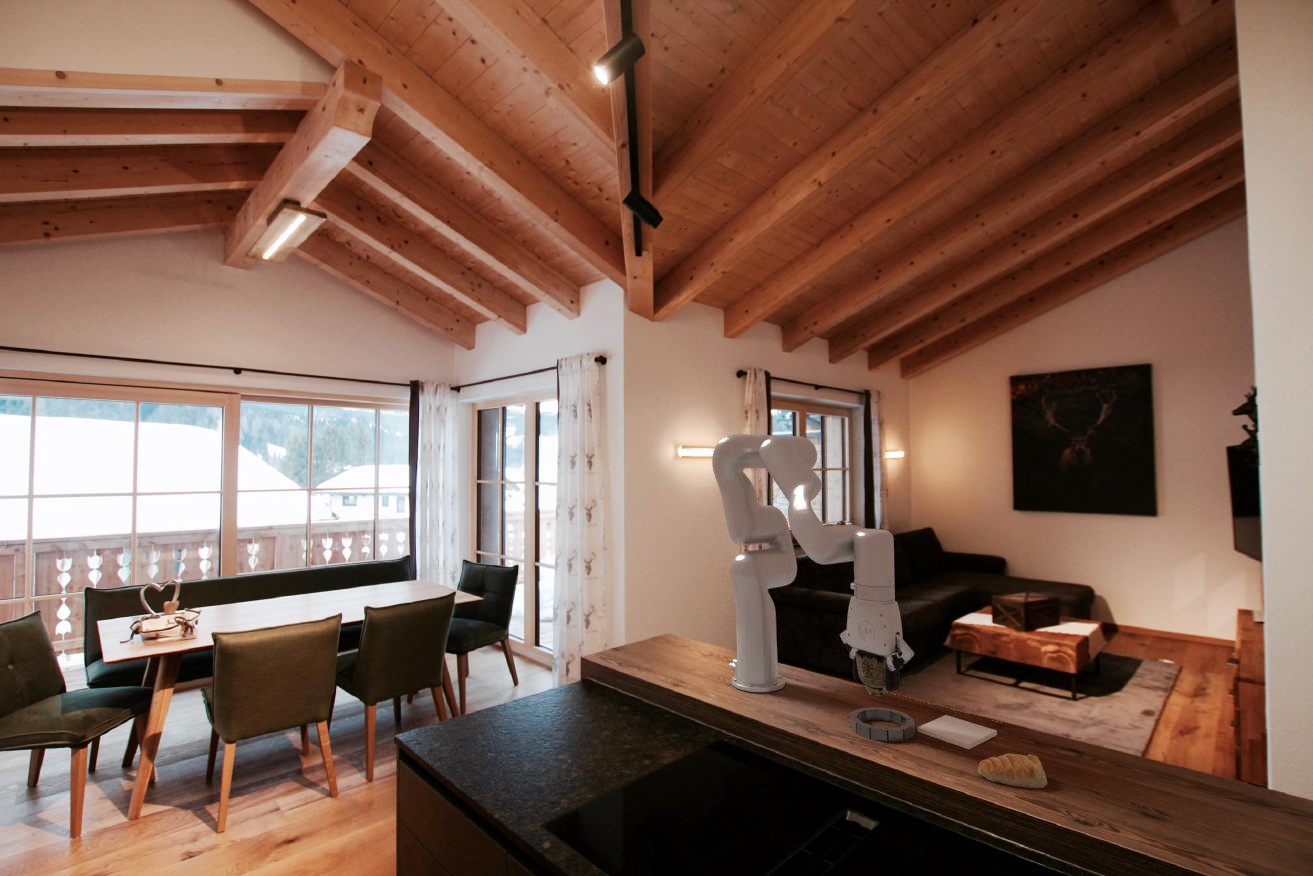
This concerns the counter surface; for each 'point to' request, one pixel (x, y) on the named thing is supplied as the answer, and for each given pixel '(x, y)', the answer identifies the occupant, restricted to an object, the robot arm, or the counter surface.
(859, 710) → the stone ring
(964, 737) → the stone coaster
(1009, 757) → the pastry
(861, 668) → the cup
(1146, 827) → the counter surface
